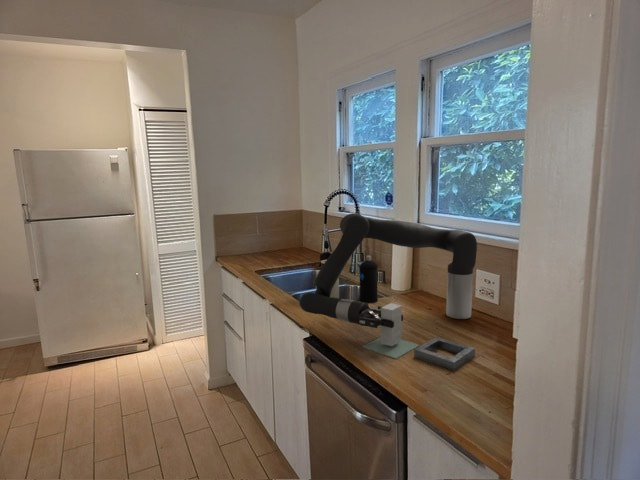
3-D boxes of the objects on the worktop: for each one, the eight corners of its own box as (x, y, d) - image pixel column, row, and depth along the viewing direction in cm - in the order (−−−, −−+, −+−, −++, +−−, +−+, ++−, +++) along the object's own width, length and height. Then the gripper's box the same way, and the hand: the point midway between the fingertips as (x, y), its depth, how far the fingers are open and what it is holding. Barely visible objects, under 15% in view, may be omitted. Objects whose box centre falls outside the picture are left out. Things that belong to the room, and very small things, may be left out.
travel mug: (339, 303, 178) (339, 262, 175) (321, 304, 178) (320, 263, 175) (338, 298, 186) (338, 259, 183) (320, 298, 186) (320, 259, 183)
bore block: (435, 344, 134) (436, 336, 134) (474, 356, 125) (474, 348, 125) (413, 357, 125) (414, 349, 125) (454, 370, 116) (454, 362, 116)
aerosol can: (379, 298, 185) (379, 254, 181) (376, 303, 177) (376, 258, 174) (360, 297, 187) (360, 253, 184) (357, 302, 179) (357, 257, 176)
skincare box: (389, 337, 136) (390, 302, 134) (401, 340, 134) (402, 305, 132) (380, 343, 132) (380, 307, 130) (391, 346, 129) (392, 310, 127)
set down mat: (386, 335, 142) (386, 334, 142) (419, 346, 133) (419, 345, 133) (362, 347, 133) (362, 346, 133) (396, 359, 124) (396, 358, 124)
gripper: (341, 306, 133) (388, 316, 124) (362, 295, 145) (407, 303, 135) (341, 328, 134) (388, 340, 125) (362, 316, 146) (407, 325, 137)
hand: (398, 321), depth 130 cm, fingers closed on skincare box, 6 cm apart
